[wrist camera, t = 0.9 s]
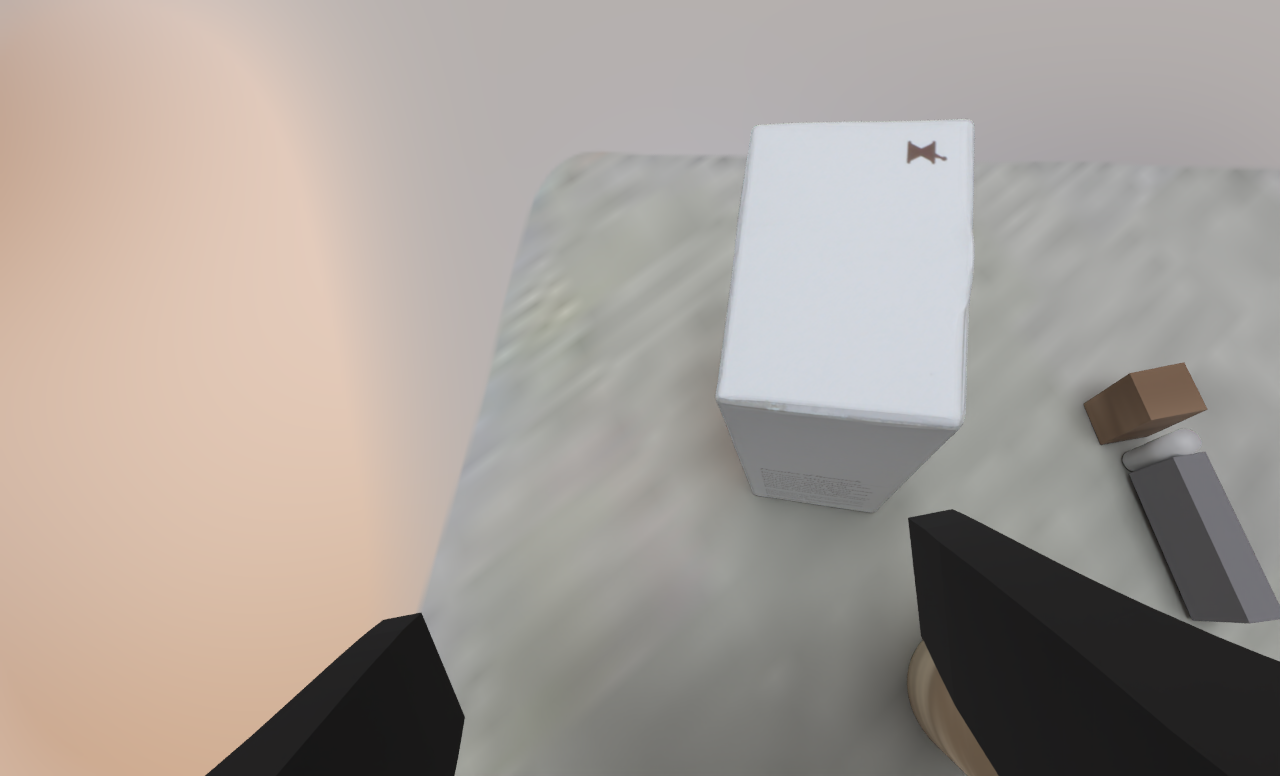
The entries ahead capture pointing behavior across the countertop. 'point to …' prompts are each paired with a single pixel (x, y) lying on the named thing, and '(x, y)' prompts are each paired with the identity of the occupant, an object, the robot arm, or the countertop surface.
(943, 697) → the peg
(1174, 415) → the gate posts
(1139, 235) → the countertop surface
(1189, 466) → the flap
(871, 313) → the skincare box
